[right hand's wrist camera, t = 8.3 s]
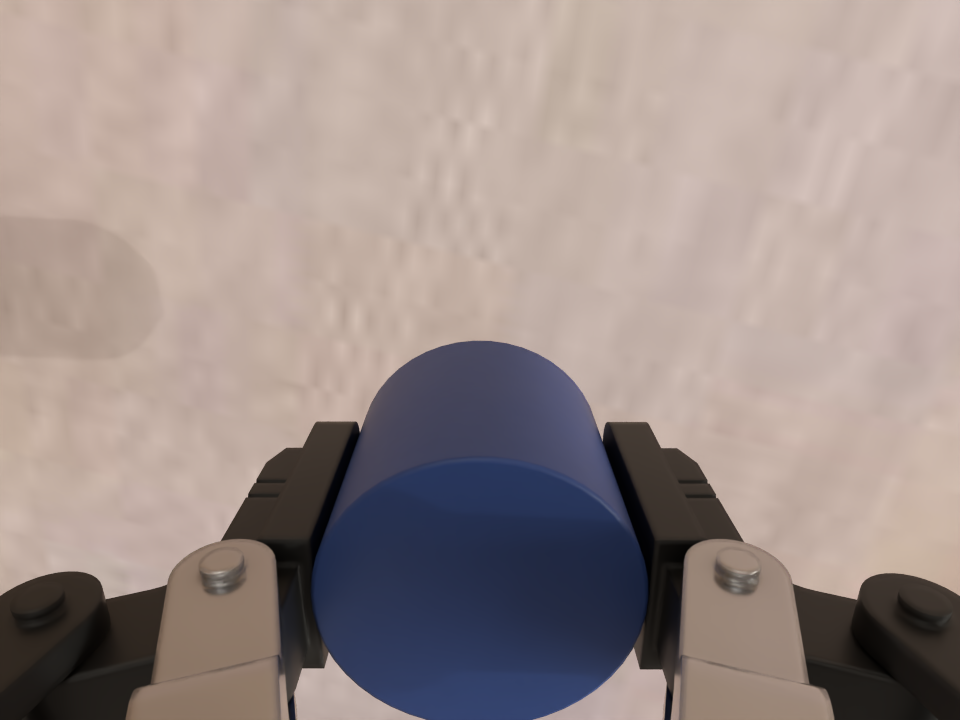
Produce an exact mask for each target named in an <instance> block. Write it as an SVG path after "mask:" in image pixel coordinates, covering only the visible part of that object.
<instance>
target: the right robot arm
mask: <svg viewBox="0 0 960 720" xmlns="http://www.w3.org/2000/svg"><path fill="white" fill-rule="evenodd" d="M359 435H360V431H359V426H358V423H357V422H316V423H315V424H314V426H313V428H312V430H311V432H310V434H309V436H308V438H307V440H306V442H305V444H304V446H303V448H286V449H284V450H283V451H282V452H280V453H279V454H277V455H276V456H275V457H273V458H272V459H271V460H269V461H268V462H267V463H266V464H265V466H264V468H263V469H262V471H261V473H260V475H259V476H258V478H257V482H256V483H254V485H253V487H252V488H251V490H250V492H249V493H248V498H246V499H245V500H244V502H243V504H242V505H241V507H240V509H239V511H238V512H237V514H236V516H235V518H234V519H233V521H232V523H231V524H230V526H229V528H228V530H227V531H226V533H225V535H224V536H223V538H222V540H221V541H220V542H215V543H212V544H209V545H207V546H204V547H202V548H200V549H198V550H196V551H194V552H192V553H191V554H189V555H188V556H186V557H185V558H184V559H182V560H181V561H180V562H179V563H178V564H177V565H176V566H175V568H174V569H173V570H172V572H171V574H170V576H169V579H168V584H167V585H165V586H162V587H159V588H155V589H151V590H147V591H142V592H138V593H133V594H129V595H124V596H119V597H115V598H110V599H106V600H105V596H104V592H103V588H102V585H101V583H100V581H99V580H98V579H97V578H96V577H94V576H92V575H90V574H87V573H83V572H59V573H54V574H48V575H45V576H41V577H38V578H35V579H32V580H30V581H27V582H25V583H23V584H20V585H18V586H16V587H14V588H13V589H11V590H9V591H7V592H6V593H4V594H3V595H1V596H0V720H297V708H296V700H295V693H294V691H295V689H296V686H297V683H298V680H299V676H300V673H301V670H302V668H324V667H325V663H326V660H327V656H328V652H329V651H328V650H327V648H326V646H325V645H324V642H323V640H322V638H321V636H320V633H319V631H318V629H317V625H316V621H315V618H314V614H313V610H312V601H311V578H312V571H313V567H314V562H315V558H316V555H317V552H318V549H319V546H320V544H321V541H322V538H323V535H324V532H325V530H326V527H327V524H328V521H329V518H330V516H331V513H332V510H333V507H334V504H335V502H336V499H337V496H338V493H339V490H340V488H341V485H342V482H343V479H344V476H345V474H346V471H347V468H348V465H349V463H350V460H351V457H352V454H353V451H354V449H355V446H356V443H357V440H358V437H359ZM603 445H604V447H605V450H606V453H607V456H608V459H609V462H610V464H611V467H612V470H613V473H614V476H615V478H616V481H617V484H618V487H619V490H620V492H621V495H622V498H623V501H624V504H625V507H626V509H627V512H628V515H629V518H630V521H631V523H632V526H633V529H634V532H635V535H636V538H637V540H638V543H639V546H640V549H641V552H642V554H643V557H644V560H645V565H646V570H647V575H648V591H649V597H648V604H647V611H646V616H645V620H644V623H643V626H642V629H641V633H640V635H639V637H638V639H637V641H636V643H635V645H634V649H635V653H636V656H637V660H638V663H639V667H640V669H663V672H664V675H665V678H666V682H667V686H666V693H665V700H664V708H663V720H960V596H959V595H957V594H956V593H954V592H952V591H950V590H948V589H947V588H945V587H942V586H940V585H938V584H936V583H933V582H931V581H928V580H925V579H922V578H918V577H915V576H910V575H904V574H895V573H885V574H878V575H875V576H872V577H870V578H868V579H866V580H865V581H864V582H863V584H862V586H861V588H860V591H859V595H858V599H857V600H855V599H850V598H846V597H841V596H837V595H832V594H827V593H823V592H818V591H814V590H810V589H806V588H803V587H800V586H797V585H794V584H792V579H791V576H790V574H789V572H788V570H787V569H786V568H785V566H784V565H783V564H782V563H781V562H780V561H779V560H778V559H776V558H775V557H774V556H772V555H771V554H769V553H768V552H766V551H764V550H762V549H760V548H758V547H756V546H753V545H751V544H748V543H745V542H744V541H743V540H742V538H741V536H740V535H739V533H738V531H737V530H736V528H735V526H734V524H733V523H732V521H731V519H730V518H729V516H728V514H727V513H726V511H725V509H724V508H723V506H722V504H721V502H720V501H719V499H718V498H716V494H715V492H714V491H713V489H712V487H711V486H710V484H708V483H707V479H706V477H705V475H704V474H703V472H702V470H701V469H700V467H699V465H698V464H697V463H696V462H695V461H694V460H692V459H691V458H690V457H688V456H687V455H685V454H684V453H683V452H681V451H680V450H679V449H677V448H661V447H660V445H659V443H658V441H657V439H656V437H655V435H654V434H653V432H652V430H651V428H650V426H649V424H648V423H647V422H607V423H606V424H605V428H604V434H603Z"/></svg>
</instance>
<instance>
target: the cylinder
mask: <svg viewBox="0 0 960 720" xmlns="http://www.w3.org/2000/svg"><path fill="white" fill-rule="evenodd" d="M648 597H649V591H648V575H647V570H646V565H645V560H644V557H643V554H642V552H641V549H640V546H639V543H638V540H637V538H636V535H635V532H634V529H633V526H632V523H631V521H630V518H629V515H628V512H627V509H626V507H625V504H624V501H623V498H622V495H621V492H620V490H619V487H618V484H617V481H616V478H615V476H614V473H613V470H612V467H611V464H610V462H609V459H608V456H607V453H606V450H605V447H604V445H603V442H602V439H601V436H600V433H599V431H598V428H597V425H596V422H595V419H594V417H593V414H592V411H591V408H590V406H589V404H588V402H587V400H586V399H585V397H584V395H583V393H582V392H581V390H580V389H579V388H578V386H577V385H576V384H575V382H574V381H573V380H572V379H571V378H570V377H569V376H568V375H567V374H566V373H565V372H564V371H563V370H561V369H560V368H559V367H557V366H556V365H555V364H553V363H552V362H551V361H549V360H547V359H545V358H544V357H542V356H540V355H538V354H537V353H534V352H532V351H529V350H527V349H524V348H522V347H518V346H514V345H511V344H507V343H500V342H493V341H468V342H458V343H454V344H449V345H445V346H441V347H438V348H436V349H433V350H430V351H428V352H425V353H423V354H421V355H420V356H418V357H416V358H414V359H412V360H411V361H409V362H408V363H406V364H405V365H404V366H402V367H401V368H399V369H398V370H397V371H396V372H395V373H394V374H393V375H392V376H391V377H390V378H389V379H388V380H387V381H386V382H385V384H384V385H383V386H382V387H381V388H380V390H379V391H378V393H377V395H376V396H375V398H374V400H373V401H372V403H371V405H370V408H369V410H368V413H367V415H366V418H365V421H364V423H363V426H362V429H361V432H360V435H359V437H358V440H357V443H356V446H355V449H354V451H353V454H352V457H351V460H350V463H349V465H348V468H347V471H346V474H345V476H344V479H343V482H342V485H341V488H340V490H339V493H338V496H337V499H336V502H335V504H334V507H333V510H332V513H331V516H330V518H329V521H328V524H327V527H326V530H325V532H324V535H323V538H322V541H321V544H320V546H319V549H318V552H317V555H316V558H315V562H314V567H313V571H312V578H311V601H312V610H313V614H314V618H315V621H316V625H317V629H318V631H319V633H320V636H321V638H322V640H323V642H324V645H325V646H326V648H327V650H328V651H329V653H330V654H331V656H332V658H333V659H334V660H335V662H336V663H337V664H338V665H339V666H340V668H341V669H342V670H343V671H344V672H345V674H346V675H348V676H349V677H350V678H351V679H352V680H353V681H354V682H355V683H356V684H357V685H358V686H360V687H361V688H362V689H364V690H365V691H367V692H368V693H369V694H371V695H372V696H373V697H375V698H377V699H379V700H380V701H382V702H384V703H386V704H387V705H389V706H391V707H393V708H396V709H398V710H400V711H403V712H405V713H407V714H410V715H413V716H416V717H420V718H423V719H426V720H533V719H536V718H540V717H544V716H547V715H549V714H552V713H554V712H557V711H559V710H562V709H564V708H566V707H568V706H570V705H572V704H574V703H576V702H578V701H579V700H581V699H583V698H584V697H586V696H587V695H589V694H590V693H592V692H593V691H595V690H596V689H597V688H598V687H600V686H601V685H602V684H603V683H604V682H605V681H607V680H608V679H609V678H610V677H611V676H612V675H613V674H614V673H615V672H616V670H617V669H618V668H619V667H620V666H621V665H622V664H623V662H624V661H625V659H626V658H627V656H628V655H629V653H630V652H631V651H632V649H633V647H634V645H635V643H636V641H637V639H638V637H639V635H640V633H641V629H642V626H643V623H644V620H645V616H646V611H647V604H648Z"/></svg>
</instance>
